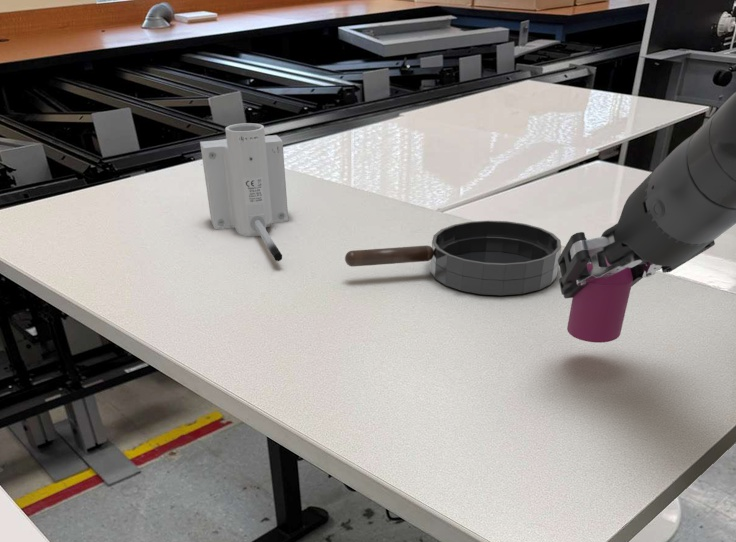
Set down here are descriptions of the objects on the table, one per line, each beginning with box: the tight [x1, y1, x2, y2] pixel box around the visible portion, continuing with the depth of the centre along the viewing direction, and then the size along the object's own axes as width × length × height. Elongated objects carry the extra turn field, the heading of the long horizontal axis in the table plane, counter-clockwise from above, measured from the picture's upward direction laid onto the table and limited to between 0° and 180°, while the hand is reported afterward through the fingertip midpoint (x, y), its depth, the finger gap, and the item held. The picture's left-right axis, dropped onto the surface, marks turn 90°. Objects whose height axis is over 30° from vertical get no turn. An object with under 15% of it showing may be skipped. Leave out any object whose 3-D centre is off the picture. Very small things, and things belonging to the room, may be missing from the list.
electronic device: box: [199, 122, 289, 262], centre depth 105 cm, size 12×26×15 cm, turn 17°
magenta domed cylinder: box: [566, 259, 633, 344], centre depth 73 cm, size 5×5×8 cm
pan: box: [429, 220, 562, 296], centre depth 97 cm, size 17×17×4 cm
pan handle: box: [344, 245, 434, 268], centre depth 95 cm, size 12×2×2 cm, turn 98°
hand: (592, 285), depth 74 cm, fingers closed on magenta domed cylinder, 5 cm apart
